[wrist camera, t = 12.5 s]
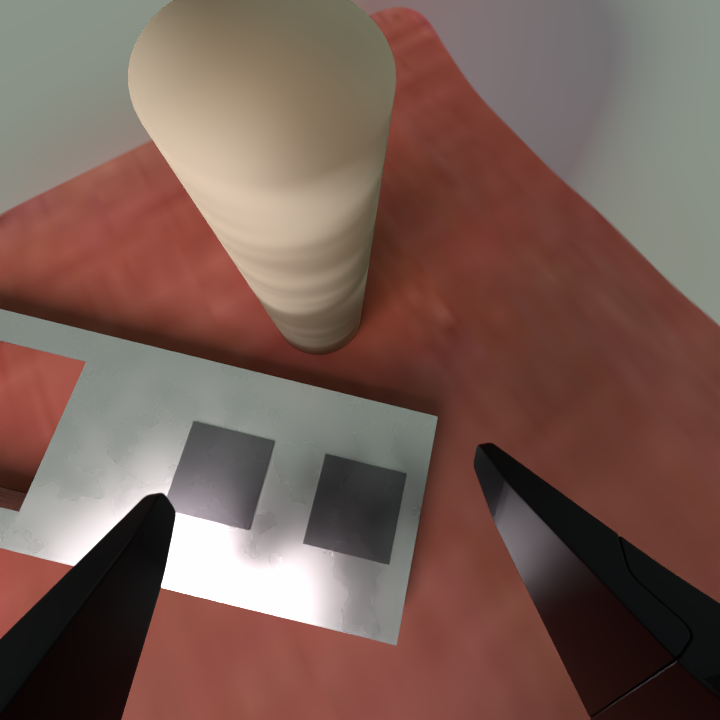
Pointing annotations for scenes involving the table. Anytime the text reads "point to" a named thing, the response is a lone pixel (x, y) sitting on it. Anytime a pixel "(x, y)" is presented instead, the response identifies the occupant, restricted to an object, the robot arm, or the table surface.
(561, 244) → the table surface
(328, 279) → the pin
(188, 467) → the grey slotted plate
